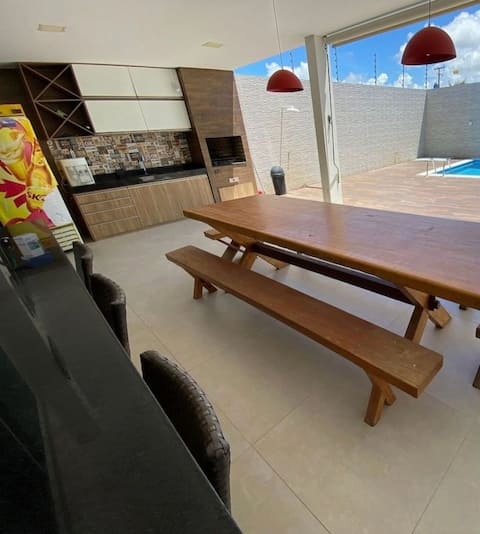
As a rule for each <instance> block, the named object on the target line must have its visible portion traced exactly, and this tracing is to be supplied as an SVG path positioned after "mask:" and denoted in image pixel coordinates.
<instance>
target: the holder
mask: <svg viewBox="0 0 480 534" xmlns="http://www.w3.org/2000/svg"><path fill="white" fill-rule="evenodd" d="M46 252H47V253H45V254H42V255H39V256H36V257H32V258H26V257H24V255H22V256H20V258H21V260H22V262H23V263H24V265H25V267H29V268H33V269H35V268H38V267H41V266H44V265H47V264H49V263H52V262H55V258H54V256H53V254H52V253H51V251H46Z"/></svg>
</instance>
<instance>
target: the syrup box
mask: <svg viewBox="0 0 480 534" xmlns="http://www.w3.org/2000/svg"><path fill="white" fill-rule="evenodd" d="M12 239H13V241H14V242H15V244H16V245H17V247H18V249H19V250H20V252H21V254H22V256H24V257H26V258H32V257H36V256H39V255H42V254H45V253H47V252H48V251H47V250H46V248H45V247H44V245H43V244H42V242H41V240H40V238H39V236H38V235H37V233H35V232H27V233H23V234H20V235H17V236H13V237H12Z"/></svg>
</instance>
